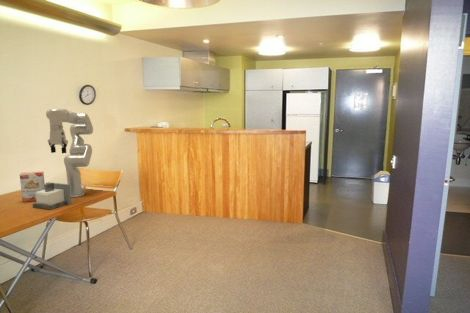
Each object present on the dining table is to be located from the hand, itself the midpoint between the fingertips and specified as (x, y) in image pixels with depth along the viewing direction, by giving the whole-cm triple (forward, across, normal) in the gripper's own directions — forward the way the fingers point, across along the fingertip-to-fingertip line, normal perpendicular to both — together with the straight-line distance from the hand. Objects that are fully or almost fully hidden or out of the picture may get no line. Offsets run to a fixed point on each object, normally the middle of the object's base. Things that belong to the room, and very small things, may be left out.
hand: (58, 152), depth 221 cm
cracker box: (+36, +28, 0) cm, 46 cm away
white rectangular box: (+34, +5, +6) cm, 35 cm away
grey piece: (+36, +5, +5) cm, 37 cm away
